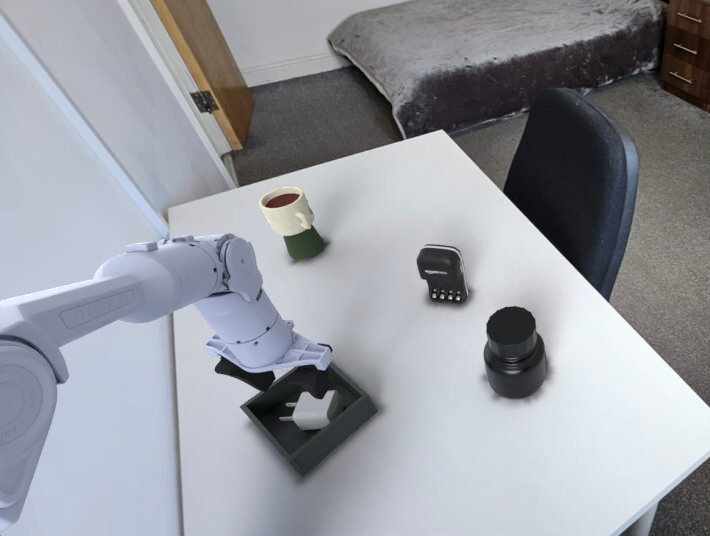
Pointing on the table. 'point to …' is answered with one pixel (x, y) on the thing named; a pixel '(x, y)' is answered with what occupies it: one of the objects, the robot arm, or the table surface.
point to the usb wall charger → (315, 410)
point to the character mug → (292, 220)
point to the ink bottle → (514, 353)
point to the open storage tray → (307, 444)
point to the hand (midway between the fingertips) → (296, 388)
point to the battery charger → (443, 273)
